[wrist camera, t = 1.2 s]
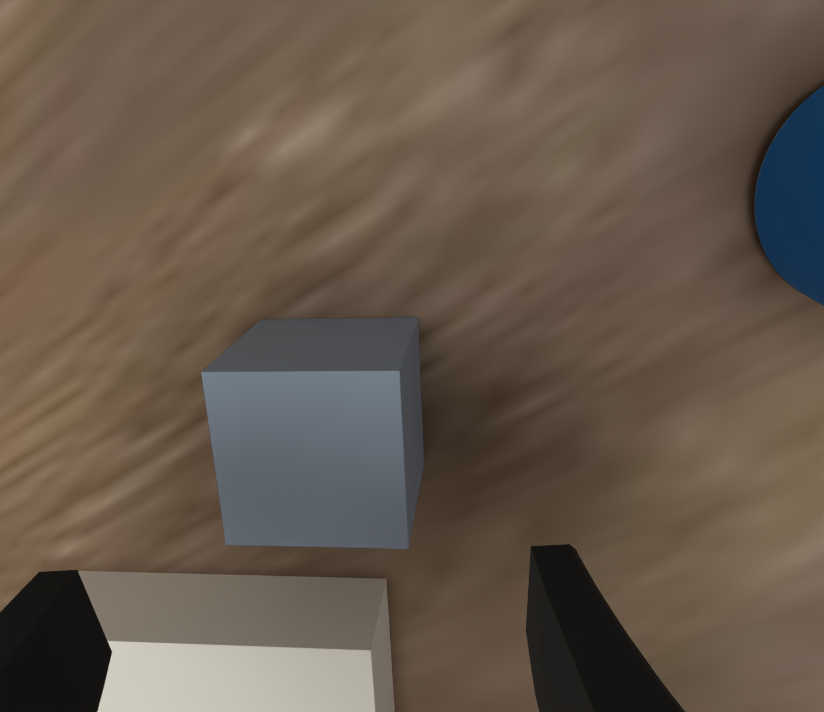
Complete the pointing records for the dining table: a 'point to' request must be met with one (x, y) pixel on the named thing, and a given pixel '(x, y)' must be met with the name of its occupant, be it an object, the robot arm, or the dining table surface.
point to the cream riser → (243, 642)
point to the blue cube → (318, 432)
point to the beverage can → (795, 199)
